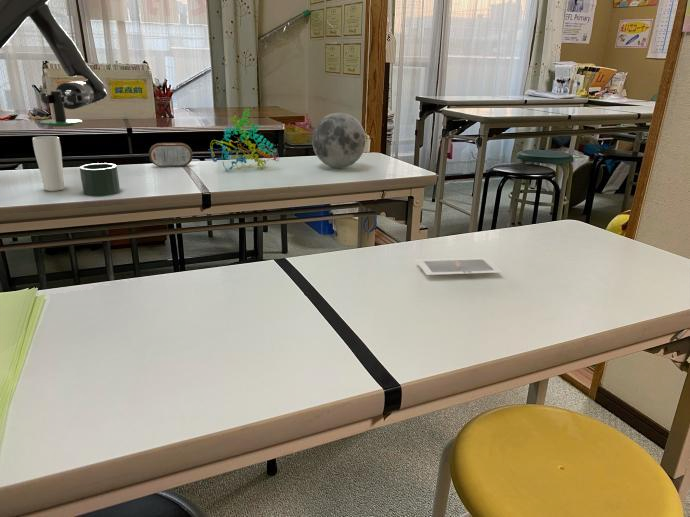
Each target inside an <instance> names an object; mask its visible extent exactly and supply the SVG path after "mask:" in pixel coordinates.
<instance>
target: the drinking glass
mask: <svg viewBox="0 0 690 517" xmlns="http://www.w3.org/2000/svg"><path fill="white" fill-rule="evenodd" d="M31 140H32V147H33V151H34V155H35V159H36V163H37V166H38V169H39V170H38V171H39V173H40V176H41V180H42V184H43V189H44V190H45V191H47V192H57V191H62V190H64V189H65V180H64V168H63V154H62V145H61V141H60V137H58V136H54V135H52V136H51V135H43V136H34V137H32V138H31Z"/></svg>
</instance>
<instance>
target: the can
mask: <svg viewBox="0 0 690 517" xmlns="http://www.w3.org/2000/svg"><path fill="white" fill-rule="evenodd" d="M78 169H79V174H80V181H81V187H82V192H83V195H86V196H90V197H105V196H112V195H116V194H118V193H120V191H121V187H120V180H119V173H118V166H117V165H116V164H115V163H107V162H104V163H102V162H101V163H99V162H97V163H88V164H84V165H80V166H79V168H78Z"/></svg>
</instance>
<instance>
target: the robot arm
mask: <svg viewBox="0 0 690 517" xmlns="http://www.w3.org/2000/svg"><path fill="white" fill-rule="evenodd" d="M48 2H50V0H0V51H1V50H2V49H3V47H5V45H6V44H7V43H8V42H9V41H10V40H11V39H12V37H13V36H14V35H15V34H16V32H17V31H18V30H19V28H20V27H21V26H22V24H23V23H24V22H25V21H26V20H27V19H28V18H30V20H32V22H33V23H34V24H35V26H36V28H37V29H38V30H39V32H40V33H41V35H42V37H43V38H44V40H45V41H46V43H47V44H48V46H49V47H50V49H51V51H52V52H53V54H54V56H55V58H56V59H57V61H58V63H59V64H60V65H59V66H61V68H62V70H63V72H64V73H65V74H66V76H68V77H82V78H84V79H85V80H84V81H68V82H63V83H60V84H59V85H58V86H57V87H56V88H55V91H62V95H58V98H59V103H60V104H64V109H67V110H76V109H80V108H83V107H84V106H85V107H86V106H88V105H90V104H93V103H96V102H99V101H102V100H104V99H105V98H106V97H107V95H108V90H107V88H106V87H107V86H106V85H105V84H104V83H103V82H102V80H100V78H99V77H98V76H97V75H96V74H95V73H94V72H93V71H92V70H91V68H90V67H89V65H88V64H87V62H86V61H85V59H84V57H83V56H82V54H81V52H80V50H79V48H78V47H77V45H76V44H75V42H74V41H73V39H72V38H71V37H70V36H69V35H68V33H67V32H66V30H64V29H63V27H62V26H61V25H60V23H58V21H57V20H56V18H55V17H54V15H53V13H52V11H51V9H50V7H49V4H48ZM39 99H40V102H42V103H44V104H47V105H48V104H50V105H51V104H53V101H52V95H51V92H48V93H47V92H44V91H40V92H39Z"/></svg>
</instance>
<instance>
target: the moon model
mask: <svg viewBox="0 0 690 517" xmlns="http://www.w3.org/2000/svg"><path fill="white" fill-rule="evenodd" d="M366 137H367V136H366V132H365V130H364V128H363V125H362V124H361V123H360V121H359V120H358V119H357V118H356V117H354V116H352V115H351V114H348V113H344V112H334V113H330V114H328V115H326V116H324V117H323V118H321V119H320V120H319V121H318V122H317V124H316V125H315V127H314V129H313V132H312V135H311V139H312V140H311V142H312V148H313V152H314V153H315V156H316V157H317V158H318V160H320V161H321V162H322V163H323V164H324V165H326V166H328V167H331V168H337V169H342V168H347V167H349V166H352V165H354V164H355V163H356V162H358V161H359V160H360V159H361V157H362V155H363V154H364V151H365V149H366V144H367V138H366Z"/></svg>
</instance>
